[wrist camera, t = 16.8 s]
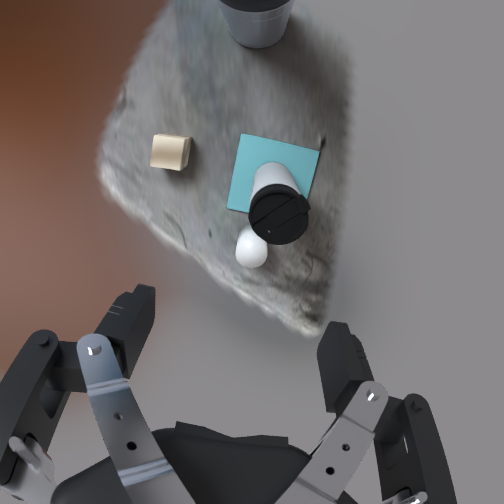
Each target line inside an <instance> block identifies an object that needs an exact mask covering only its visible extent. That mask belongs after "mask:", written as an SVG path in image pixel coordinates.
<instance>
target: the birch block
mask: <svg viewBox="0 0 504 504" xmlns="http://www.w3.org/2000/svg"><path fill="white" fill-rule="evenodd" d="M191 141H192V137H188V136H181V135H174V134H167V133H162V134H157V135H154V140H153V146H152V154H151V161H150V166H153V167H160V168H166V169H172V170H178V171H180V170H181V169H183V168H184V167H186V166H187V164H188V158H189V152H190V146H191Z"/></svg>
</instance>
